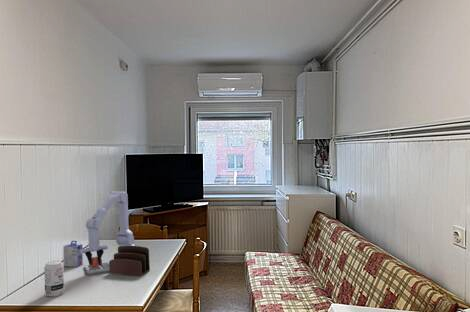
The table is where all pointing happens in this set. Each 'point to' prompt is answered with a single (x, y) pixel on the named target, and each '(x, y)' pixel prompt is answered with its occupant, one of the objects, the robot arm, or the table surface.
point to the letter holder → (130, 261)
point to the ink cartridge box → (72, 255)
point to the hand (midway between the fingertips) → (94, 264)
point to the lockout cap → (94, 262)
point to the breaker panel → (97, 269)
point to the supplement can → (54, 278)
